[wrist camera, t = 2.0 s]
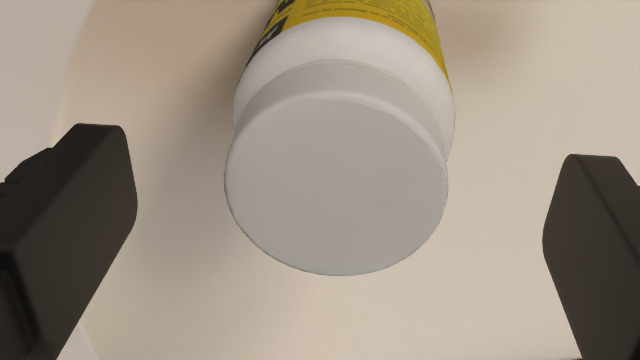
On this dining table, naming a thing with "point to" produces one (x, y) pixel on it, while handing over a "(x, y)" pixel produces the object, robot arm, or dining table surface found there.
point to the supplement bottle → (342, 135)
